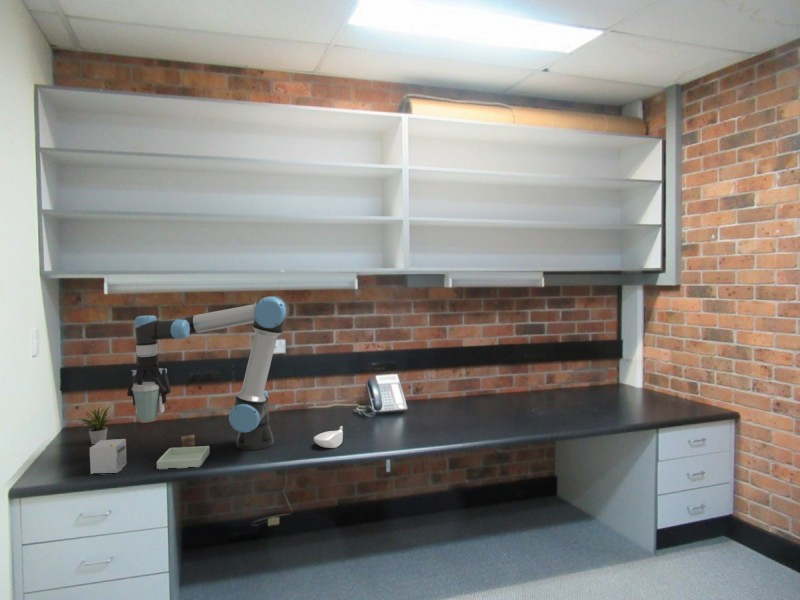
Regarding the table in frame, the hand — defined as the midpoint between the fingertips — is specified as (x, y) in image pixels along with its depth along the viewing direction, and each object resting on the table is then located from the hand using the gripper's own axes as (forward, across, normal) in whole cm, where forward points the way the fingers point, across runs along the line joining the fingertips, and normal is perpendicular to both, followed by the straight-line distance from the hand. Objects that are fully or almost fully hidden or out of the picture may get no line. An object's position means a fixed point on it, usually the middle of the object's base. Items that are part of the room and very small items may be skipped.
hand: (150, 412), depth 203 cm
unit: (+18, +12, +10) cm, 24 cm away
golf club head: (+20, -68, -5) cm, 71 cm away
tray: (+19, -13, +5) cm, 23 cm away
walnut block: (+19, -11, -10) cm, 24 cm away
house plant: (+18, +30, -25) cm, 43 cm away
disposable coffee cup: (+3, +1, 0) cm, 3 cm away
